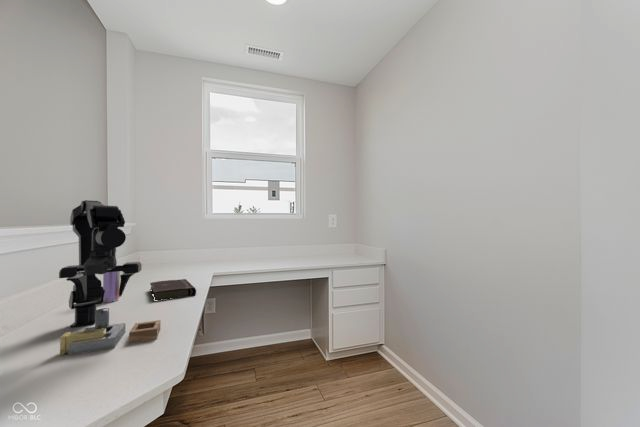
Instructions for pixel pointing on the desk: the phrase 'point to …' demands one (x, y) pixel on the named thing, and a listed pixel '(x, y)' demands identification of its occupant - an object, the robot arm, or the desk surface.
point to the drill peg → (102, 319)
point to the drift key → (79, 338)
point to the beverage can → (111, 286)
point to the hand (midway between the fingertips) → (102, 298)
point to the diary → (172, 289)
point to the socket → (98, 340)
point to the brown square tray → (144, 331)
